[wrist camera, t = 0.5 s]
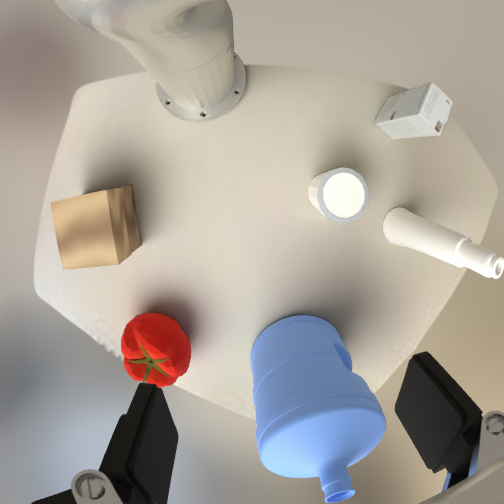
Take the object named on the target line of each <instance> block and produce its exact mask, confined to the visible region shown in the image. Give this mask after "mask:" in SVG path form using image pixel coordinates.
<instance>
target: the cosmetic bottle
mask: <svg viewBox="0 0 504 504" xmlns="http://www.w3.org/2000/svg"><path fill="white" fill-rule="evenodd" d="M383 232H384V235H385V237H386V239H387V240H388V241H389V242H390V243H392V244H394V245H401V246H406V247H409V248H412V249H415V250H418V251H420V252H423V253H426V254H428V255H430V256H433V257H435V258H438V259H440V260H442V261H445V262H447V263H450V264H452V265H455V266H458V267H464V266H466V267H468V268H470V269H472V270H474V271H476V272H478V273H480V274H481V275H483V276H485V277H493V278H495V279H497V278H499V277H500V275H501V274H502V272H503V269H504V260H503V258H502V257H499V256H498V254H497V253H496V252H494V251H492V250H490V249H487V248H484V247H482V246H480V245H477V244H474V243H472V241H471V239H470V238H468V237H466V236H464V235H462V234H460V233H458V232H455V231H453V230H451V229H448V228H446V227H443V226H441V225H438V224H436V223H433V222H431V221H428V220H426V219H423V218H421V217H419V216H417V215H415V214H413V213H411V212H409V211H408V210H406V209H405V208H401V207H398V208H394V209H392V210H391V211H390V212H389V213H388V214H387V215H386V217H385V219H384V223H383Z"/></svg>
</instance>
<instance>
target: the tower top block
mask: <svg viewBox="0 0 504 504" xmlns="http://www.w3.org/2000/svg"><path fill="white" fill-rule="evenodd" d="M51 208H52V215H53V222H54V227H55V233H56V238H57V243H58V248H59V253H60V257H61V262H62V266H63V270H67V269H77V268H87V267H98V266H108V265H118V264H120V263H121V262H122V261H124V260H125V259H126V258H128V257H129V256H130V255H131V249H130V243H129V238H128V232H127V226H126V219H125V212H124V205H123V197H122V189H121V188H115V189H108V190H103V191H98V192H93V193H89V194H84V195H80V196H76V197H72V198H67V199H63V200H59V201H55V202H52V203H51Z"/></svg>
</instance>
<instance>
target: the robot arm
mask: <svg viewBox="0 0 504 504" xmlns="http://www.w3.org/2000/svg"><path fill="white" fill-rule="evenodd" d="M55 2H56V3H57V5H58V6H59V7H60V8H61V10H62V11H63V12H64V13H65V14H67V15H68V16H69V17H70V18H72V19H73V20H74V21H76V22H77V23H79V24H80V25H82V26H84V27H86V28H88V29H90V30H92V31H94V32H96V33H98V34H101V35H103V36H105V37H108V38H110V39H112V40H114V41H116V42H117V43H119V44H120V45H121V46H123V47H124V48H125V49H126V50H127V51H128V52H129V53H130V54H131V55H132V56H133V57H134V58H135V59H136V60H137V61H138V62H139V63H140V64H141V65H142V67H143V68H144V69H145V70H146V71H147V72H148V73H149V74H150V75H151V76H152V77H153V78H154V79H155V81H156V89H157V95H158V97H159V100H160V102H161V103H162V105H163V106H164V108H166V109H167V110H168V111H169V112H170V113H171V114H173V115H174V116H176V117H178V118H180V119H183V120H187V121H197V122H199V121H207V120H211V119H215V118H217V117H219V116H221V115H223V114H225V113H226V112H228V111H229V110H231V109H232V108H233V107H234V106H235V105H236V104H237V102H238V101H239V99H240V98H241V96H242V94H243V92H244V89H245V85H246V71H245V67H244V65H243V62H242V61H241V59H240V58H239V56H238V55H236V53H235V52H234V43H233V18H232V12H231V9H230V7H229V5H228V3H227V1H226V0H55ZM234 59H235V60H234ZM235 92H238V94H235ZM168 102H170V104H169V105H167V104H168ZM203 114H206V116H205V117H202V115H203ZM395 412H396V414H397V416H398V418H399V419H400V421H401V423H402V425H403V426H404V428H405V430H406V431H407V433H408V435H409V437H410V438H411V440H412V442H413V443H414V445H415V447H416V449H417V450H418V452H419V454H420V456H421V458H422V459H423V461H424V463H425V465H426V466H427V468H428V469H432V471H433V473H436V472H438V471H440V470H442V469H444V468H446V469H447V471H448V472H447V476H446V479H445V483H444V486H443V490H442V492H441V493H439V494H437V495H435V496H433V497H431V498H430V499H427V500H425V501H423V502H421V503H419V504H504V413H502V412H500V411H491V412H488V413H487V414H486V415H485V416H484V417H482V415H481V414H482V413H483V412H482V411H481V410H480V408H479V407H478V406H477V405H476V404H475V403H474V402H473V400H471V398H470V397H469V396H468V395H467V393H466V392H465V391H464V390H463V389H462V388H461V387H460V386H459V385H458V384H457V382H456V381H455V380H454V379H453V378H452V377H451V376H450V375H449V374H448V373H447V371H445V369H444V368H443V367H442V366H441V365H440V364H439V363H438V362H437V361H436V360H435V359H434V358H433V357H432V355H431V354H429V353H428V352H426V351H425V352H422V353H418V354H415V355H413V357H412V359H410V360H409V363H408V367H407V370H406V373H405V377H404V380H403V383H402V386H401V390H400V392H399V395H398V398H397V401H396V404H395ZM177 444H178V432H177V429H176V427H175V424H174V422H173V419H172V416H171V414H170V411H169V408H168V405H167V402H166V399H165V397H164V394H163V391H162V389H161V388H158V387H157V385H156V384H153V383H140V384H139V385H138V388H137V390H136V392H135V395H134V397H133V400H132V402H131V404H130V407H129V409H128V412H127V414H123V415H122V416H121V417H120V419H119V421H118V423H117V426H116V428H115V430H114V433H113V435H112V438H111V440H110V443H109V445H108V448H107V450H106V453H105V455H104V458H103V460H102V463H101V465H100V468H99V471H97V470H90V469H89V470H84V471H82V472H79V473H78V474H77V475H76V476H75V477H74V478H73V480H72V483H71V489H69V490H67V491H64V492H61V493H58V494H55V495H52V496H49V497H46V498H43V499H40V500H37V501H35V502H33V503H32V504H167V500H168V494H169V488H170V482H171V476H172V470H173V465H174V460H175V454H176V449H177Z"/></svg>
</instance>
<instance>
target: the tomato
mask: <svg viewBox="0 0 504 504" xmlns="http://www.w3.org/2000/svg"><path fill="white" fill-rule="evenodd" d="M121 351H122V353H123V355H124V366H125V368H126V371H127V372H128V374H129V375H130V376H131V377H132V378H133V379H134V380H139V381H143V383H144V382H145V381H146V382H147V383H153V384H156V385H157V387H164V386H169V385H172V384H173V383H175V381H176V380H177V378H178V377H179V376H182V375H183V374H184V373H186V372H187V369H188V367H189V363H190V358H191V346H190V340H189V337H188V336H187V335H186V334H185V333H184V332H183V331H182V329H181V327H180V325H179V323H178V322H177V321H175V320H174V319H172V318H171V317H169V316H166V315H162V314H159V313H145V314H141V315H137V316H136V317H135V318H133V319H132V320H131V321H130V322H129V323H128V324H127V325H126V327H125V330H124V333H123V335H122V340H121Z"/></svg>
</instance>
